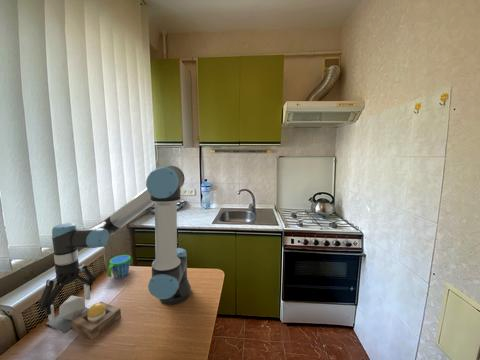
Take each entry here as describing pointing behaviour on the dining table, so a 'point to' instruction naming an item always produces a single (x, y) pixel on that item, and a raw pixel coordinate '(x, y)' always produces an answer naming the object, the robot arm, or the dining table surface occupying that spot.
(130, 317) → the dining table surface
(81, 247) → the robot arm
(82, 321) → the brown square tray
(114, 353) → the dining table surface
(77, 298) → the die
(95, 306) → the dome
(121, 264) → the snack cup
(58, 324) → the coaster
